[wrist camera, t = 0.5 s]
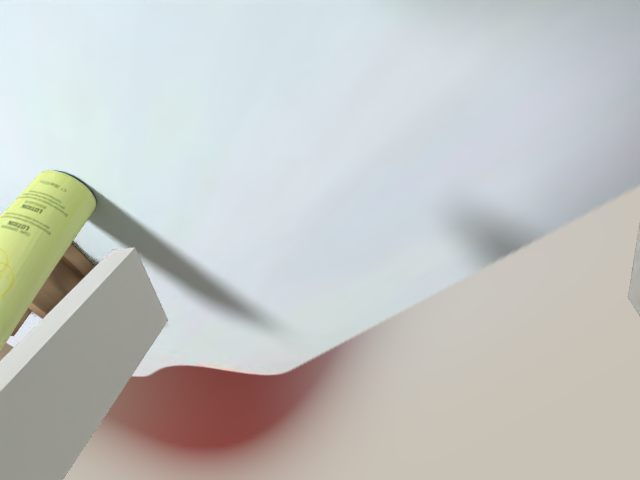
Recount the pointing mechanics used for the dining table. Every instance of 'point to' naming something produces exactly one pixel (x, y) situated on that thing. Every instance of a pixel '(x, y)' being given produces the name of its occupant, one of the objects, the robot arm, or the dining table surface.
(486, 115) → the dining table surface
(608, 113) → the dining table surface
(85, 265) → the wooden letter rack
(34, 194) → the tube
